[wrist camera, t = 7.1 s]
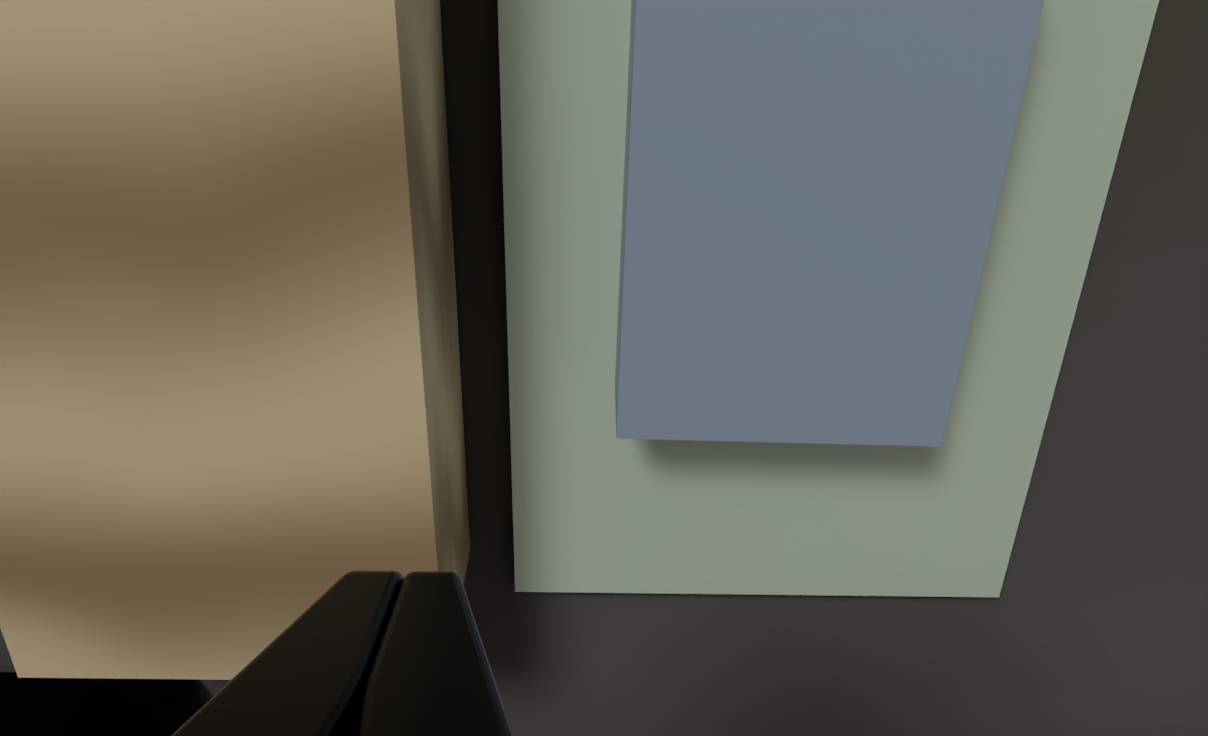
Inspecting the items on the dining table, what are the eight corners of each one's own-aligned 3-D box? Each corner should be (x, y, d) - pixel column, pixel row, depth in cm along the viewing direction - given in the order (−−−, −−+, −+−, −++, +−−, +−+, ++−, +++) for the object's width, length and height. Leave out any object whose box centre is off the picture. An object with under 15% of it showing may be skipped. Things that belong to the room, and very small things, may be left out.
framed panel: (470, 547, 22) (446, 682, 19) (110, 543, 22) (18, 677, 19) (412, -489, 14) (348, -601, 10) (-173, -504, 14) (-443, -623, 10)
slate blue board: (616, 438, 18) (614, 384, 20) (941, 446, 18) (911, 393, 20) (641, -106, 14) (636, -112, 16) (1064, -90, 14) (1012, -99, 16)
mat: (994, 588, 23) (999, 597, 23) (516, 582, 23) (515, 591, 22) (1297, -560, 13) (1311, -570, 13) (482, -584, 13) (480, -592, 13)
